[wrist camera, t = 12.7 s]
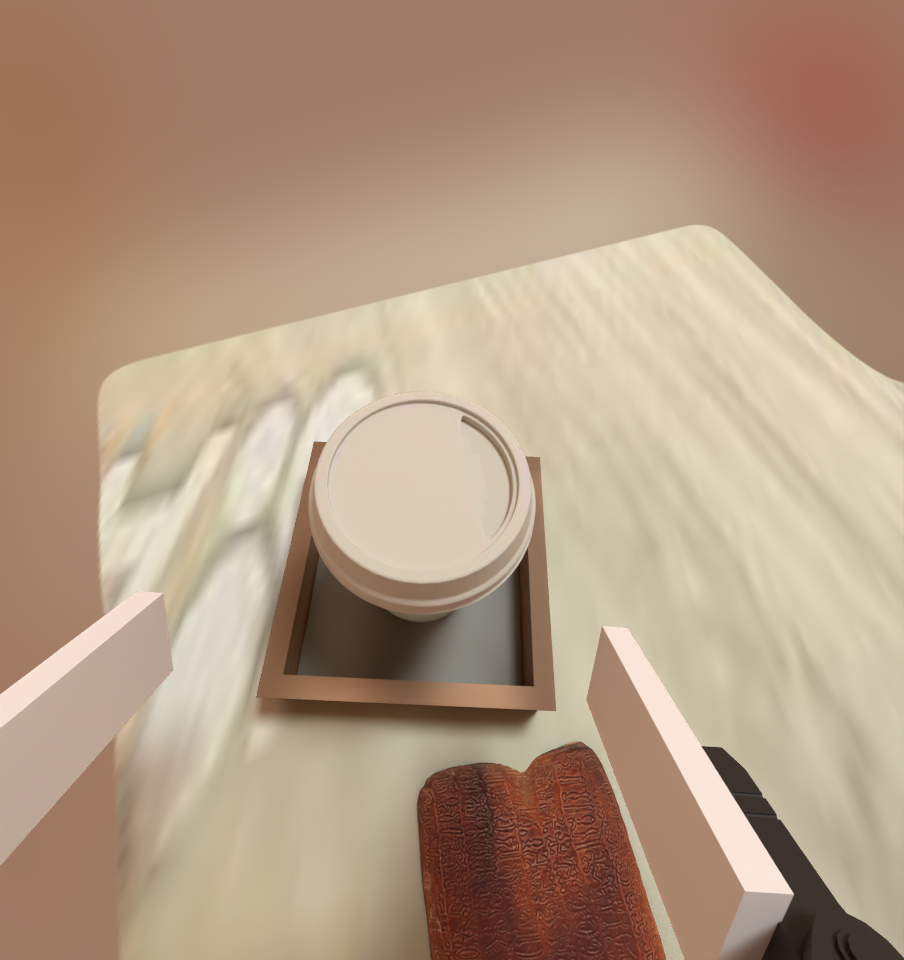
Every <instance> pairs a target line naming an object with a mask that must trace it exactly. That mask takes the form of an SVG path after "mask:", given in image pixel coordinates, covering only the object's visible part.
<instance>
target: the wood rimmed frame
mask: <svg viewBox="0 0 904 960" xmlns="http://www.w3.org/2000/svg"><path fill="white" fill-rule="evenodd" d="M326 443H327V442H314V444H313V449H312V453H311V457H310V462H309V466H308V471H307V475H306V479H305V484H304V488H303V493H302V497H301V502H300V506H299V510H298V515H297V519H296V524H295V528H294V532H293V537H292V541H291V546H290V550H289V555H288V559H287V563H286V568H285V572H284V577H283V581H282V585H281V590H280V594H279V599H278V603H277V608H276V612H275V616H274V621H273V625H272V630H271V634H270V639H269V643H268V647H267V652H266V656H265V661H264V665H263V669H262V674H261V678H260V683H259V687H258V692H257V696H256V697H261V698H283V699H304V700H326V701H348V702H370V703H392V704H414V705H435V706H457V707H479V708H501V709H523V710H545V711H556V703H555V687H554V672H553V656H552V640H551V625H550V609H549V593H548V578H547V562H546V547H545V531H544V515H543V500H542V484H541V469H540V457H527V456H525V457H526V460H527V463H528V466H529V471H530V474H531V477H532V481H533V485H534V490H535V499H536V509H535V519H534V526H533V531H532V536H531V539H530V542H529V545H528V548H527V550H526V552H525V554H524V556H523V558H522V560H521V561H520V563H519V565H518V566H517V568H516V569H515V570H514V572H513V573H512V574H511V575H510V576H509V577H508V579H507V580H506V581H505V582H504V583H503V584H501V585H500V586H499V587H498V588H497V589H496V590H494V591H493V592H492V593H490V594H489V595H487V596H486V597H484V598H482V599H480V600H479V601H477V602H475V603H473V604H470V605H468V606H465V607H463V608H460V609H456V610H454V611H453V612H451V613H450V614H448V615H447V616H445V617H443V618H441V619H438V620H436V621H432V622H426V623H416V622H410V621H406V620H403V619H401V618H399V617H397V616H395V615H393V614H392V613H391V612H389V611H388V610H386V609H384V608H381V607H379V606H376V605H374V604H371V603H369V602H367V601H365V600H363V599H362V598H360V597H358V596H357V595H355V594H354V593H352V592H351V591H350V590H348V589H347V588H346V587H345V586H344V585H342V584H341V583H340V582H339V581H338V580H337V579H336V578H335V577H334V575H333V574H332V573H331V572H330V570H329V569H328V568H327V566H326V565H325V563H324V562H323V560H322V558H321V556H320V555H319V553H318V550H317V548H316V545H315V543H314V540H313V536H312V532H311V527H310V519H309V491H310V485H311V481H312V477H313V474H314V471H315V469H316V467H317V464H318V460H319V458H320V455H321V453H322V451H323V448H324V446H325V445H326Z"/></svg>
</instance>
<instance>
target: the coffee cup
mask: <svg viewBox="0 0 904 960" xmlns="http://www.w3.org/2000/svg"><path fill="white" fill-rule="evenodd" d="M535 509H536V499H535V490H534V485H533V481H532V477H531V474H530V471H529V466H528V463H527V460H526V457H525V455H524V453H523V450H522V448H521V447H520V445H519V443H518V441H517V440H516V438H515V437H514V436H513V434H512V433H511V432H510V430H509V429H508V428H507V427H506V426H505V425H504V424H503V423H502V422H501V421H500V420H499V419H498V418H496V417H495V416H494V415H493V414H491V413H490V412H489V411H487V410H485V409H484V408H482V407H480V406H479V405H477V404H475V403H472V402H470V401H468V400H465V399H463V398H460V397H457V396H453V395H449V394H444V393H438V392H407V393H400V394H395V395H391V396H388V397H385V398H382V399H379V400H376V401H374V402H372V403H370V404H368V405H366V406H364V407H362V408H361V409H359V410H357V411H356V412H355V413H353V414H352V415H351V416H349V417H348V418H347V419H346V420H345V421H344V422H343V423H342V424H341V425H340V426H339V427H338V428H337V429H336V430H335V431H334V433H333V434H332V435H331V437H330V438H329V440H328V441H327V443H326V445H325V446H324V448H323V451H322V453H321V455H320V458H319V460H318V464H317V467H316V469H315V471H314V474H313V477H312V481H311V485H310V491H309V519H310V527H311V532H312V536H313V540H314V543H315V545H316V548H317V550H318V553H319V555H320V556H321V558H322V560H323V562H324V563H325V565H326V566H327V568H328V569H329V570H330V572H331V573H332V574H333V575H334V577H335V578H336V579H337V580H338V581H339V582H340V583H341V584H342V585H344V586H345V587H346V588H347V589H348V590H350V591H351V592H352V593H354V594H355V595H357V596H358V597H360V598H362V599H363V600H365V601H367V602H369V603H371V604H374V605H376V606H379V607H381V608H384V609H386V610H388V611H389V612H391V613H392V614H393V615H395V616H397V617H399V618H401V619H403V620H406V621H410V622H416V623H426V622H432V621H436V620H438V619H441V618H443V617H445V616H447V615H448V614H450V613H451V612H453V611H454V610H456V609H460V608H463V607H465V606H468V605H470V604H473V603H475V602H477V601H479V600H480V599H482V598H484V597H486V596H487V595H489V594H490V593H492V592H493V591H494V590H496V589H497V588H498V587H499V586H500V585H501V584H503V583H504V582H505V581H506V580H507V579H508V577H509V576H510V575H511V574H512V573H513V572H514V570H515V569H516V568H517V566H518V565H519V563H520V561H521V560H522V558H523V556H524V554H525V552H526V550H527V548H528V545H529V542H530V539H531V536H532V531H533V526H534V519H535Z"/></svg>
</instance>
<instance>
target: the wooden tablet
mask: <svg viewBox="0 0 904 960" xmlns="http://www.w3.org/2000/svg"><path fill="white" fill-rule="evenodd" d="M418 809H419V824H420V839H421V854H422V871H423V883H424V892H425V900H426V907H427V915H428V925H429V932H430V944H431V952H432V959H433V960H666V957H665V953H664V950H663V946H662V942H661V938H660V935H659V932H658V929H657V926H656V923H655V920H654V917H653V914H652V911H651V908H650V905H649V902H648V899H647V895H646V891H645V889H644V886H643V883H642V880H641V876H640V871H639V868H638V866H637V863H636V859H635V856H634V853H633V850H632V847H631V844H630V841H629V838H628V833H627V829H626V826H625V824H624V821H623V818H622V816H621V813H620V809H619V805H618V803H617V801H616V797H615V794H614V792H613V789H612V787H611V784H610V782H609V780H608V777H607V775H606V773H605V770H604V768H603V766H602V764H601V762H600V760H599V758H598V757H597V755H596V754H595V752H594V751H593V750H592V749H591V748H589V747H588V746H586V745H585V744H584V743H582V742H571V743H568V744H566V745H564V746H562V747H559V748H557V749H554V750H551V751H549V752H546V753H544V754H542V755H540V756H538V757H537V758H535V759H534V760H533V762H532V763H531V764H530V766H529V767H528V769H527V770H526V771H525V772H522V773H520V772H518V771H517V770H514V769H512V768H510V767H508V766H503V765H501V764H495V763H476V764H470V765H464V766H458V767H452V768H448V769H446V770H443V771H440V772H437V773H435V774H433V775H432V776H431V777H430V778H428V779H427V783H426V784H425V786H424V787H423V788H422V790H421V793H420V796H419V803H418Z"/></svg>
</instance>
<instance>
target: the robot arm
mask: <svg viewBox="0 0 904 960" xmlns="http://www.w3.org/2000/svg"><path fill="white" fill-rule="evenodd" d="M172 671H173V666H172V658H171V650H170V642H169V634H168V626H167V618H166V610H165V602H164V594H163V593H156V592H143V591H137V592H135V593H134V594H133V595H131V596H130V597H129V598H127V599H126V600H125V601H123V602H122V603H121V604H119V605H118V606H117V607H115V608H114V609H113V610H112V611H110V612H109V613H108V614H106V615H105V616H104V617H102V618H101V619H100V620H98V621H97V622H96V623H94V624H93V625H92V626H90V627H89V628H88V629H86V630H85V631H84V632H83V633H81V634H80V635H78V636H77V637H76V638H74V639H73V640H72V641H71V642H69V643H68V644H67V645H65V646H64V647H63V648H61V649H60V650H59V651H57V652H56V653H55V654H53V655H52V656H51V657H49V658H48V659H47V660H45V661H44V662H43V663H41V664H40V665H39V666H37V667H36V668H35V669H33V670H32V671H31V672H30V673H28V674H27V675H25V676H24V677H23V678H21V679H20V680H19V681H18V682H16V683H15V684H13V685H12V686H11V687H10V688H8V689H7V690H6V691H4V692H3V693H2V694H0V865H1V864H2V863H3V862H4V861H5V860H6V859H7V857H8V856H9V855H10V854H11V853H12V852H13V851H14V849H15V848H16V847H17V846H18V845H19V844H20V843H21V842H22V840H23V839H24V838H25V837H26V836H27V835H28V834H29V832H30V831H31V830H32V829H33V828H34V827H35V826H36V825H37V823H38V822H39V821H40V820H41V819H42V818H43V816H45V814H46V813H47V812H48V811H49V810H50V809H51V808H52V806H53V805H54V804H55V803H56V802H57V801H58V800H59V799H60V797H61V796H62V795H63V794H64V793H65V792H66V791H67V789H68V788H69V787H70V786H71V785H72V784H73V783H74V782H75V780H76V779H77V778H78V777H79V776H80V775H81V773H83V771H84V770H85V769H86V768H87V767H88V766H89V765H90V763H91V762H92V761H93V760H94V759H95V758H96V756H97V755H98V754H99V753H100V752H101V751H102V750H103V749H104V748H105V747H106V745H107V744H108V743H109V742H110V741H111V740H112V738H113V737H114V736H115V735H116V734H117V733H118V732H119V731H120V730H121V728H122V727H123V726H124V725H125V724H126V723H127V722H128V720H129V719H130V718H131V717H132V716H133V715H134V714H135V713H136V711H137V710H138V709H139V708H140V707H141V706H142V705H143V704H144V702H145V701H146V700H147V699H148V698H149V697H150V696H151V694H152V693H153V692H154V691H155V690H156V689H157V688H158V687H159V685H160V684H161V683H162V682H163V681H164V680H165V679H166V677H167V676H168V675H169V674H170V673H171V672H172ZM587 702H588V705H589V708H590V710H591V713H592V716H593V718H594V721H595V724H596V726H597V729H598V731H599V734H600V737H601V739H602V742H603V745H604V747H605V750H606V753H607V755H608V758H609V761H610V763H611V766H612V768H613V771H614V774H615V776H616V779H617V782H618V784H619V787H620V790H621V792H622V795H623V797H624V800H625V803H626V805H627V808H628V811H629V813H630V816H631V819H632V821H633V824H634V826H635V829H636V832H637V834H638V837H639V840H640V842H641V845H642V848H643V850H644V853H645V855H646V858H647V861H648V863H649V866H650V869H651V871H652V874H653V877H654V879H655V882H656V884H657V887H658V890H659V892H660V895H661V898H662V900H663V903H664V906H665V908H666V911H667V914H668V916H669V919H670V921H671V924H672V927H673V929H674V932H675V935H676V937H677V940H678V943H679V945H680V948H681V950H682V953H683V956H684V958H685V960H904V958H903V957H902V956H901V954H900V953H899V952H898V951H897V950H896V949H895V948H894V947H893V946H892V945H891V944H890V943H889V942H888V941H887V940H886V939H885V938H884V937H883V936H881V935H880V934H879V933H877V932H876V931H875V930H874V929H872V928H871V927H870V926H868V925H867V924H866V923H864V922H862V921H860V920H859V919H857V918H855V917H853V916H851V915H849V914H847V913H846V912H845V911H844V910H843V908H842V907H841V906H840V905H839V903H838V902H837V901H836V899H835V898H834V896H833V895H832V893H831V892H830V891H829V889H828V888H827V886H826V885H825V883H824V882H823V880H822V879H821V878H820V876H819V875H818V873H817V872H816V870H815V869H814V868H813V866H812V865H811V863H810V862H809V860H808V859H807V857H806V856H805V855H804V853H803V852H802V850H801V849H800V847H799V846H798V845H797V843H796V842H795V840H794V839H793V837H792V836H791V834H790V833H789V832H788V830H787V829H786V827H785V826H784V824H783V823H782V822H781V820H778V819H777V816H776V813H775V811H774V810H773V809H772V807H771V806H770V804H769V803H768V801H767V800H766V799H765V798H763V797H762V793H761V791H760V790H759V788H758V787H757V786H756V784H755V783H754V781H753V780H752V778H751V777H750V776H749V774H748V773H747V771H746V770H745V769H744V768H743V767H742V766H741V765H740V764H739V763H738V762H737V761H736V760H735V759H734V758H732V757H731V756H730V755H729V754H728V753H727V752H726V751H725V750H724V749H723V748H720V747H705V746H701V745H700V743H699V742H698V740H697V738H696V737H695V735H694V734H693V732H692V730H691V729H690V727H689V726H688V724H687V722H686V721H685V719H684V718H683V716H682V714H681V713H680V711H679V710H678V708H677V706H676V705H675V703H674V702H673V700H672V698H671V697H670V695H669V694H668V692H667V690H666V689H665V687H664V686H663V684H662V682H661V681H660V679H659V678H658V676H657V674H656V673H655V671H654V670H653V668H652V667H651V665H650V663H649V662H648V660H647V659H646V657H645V655H644V654H643V652H642V651H641V649H640V647H639V646H638V644H637V643H636V641H635V639H634V638H633V636H632V635H631V633H630V631H629V630H628V628H621V627H608V626H602V630H601V634H600V639H599V644H598V649H597V653H596V658H595V663H594V667H593V672H592V677H591V681H590V686H589V691H588V695H587Z"/></svg>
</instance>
